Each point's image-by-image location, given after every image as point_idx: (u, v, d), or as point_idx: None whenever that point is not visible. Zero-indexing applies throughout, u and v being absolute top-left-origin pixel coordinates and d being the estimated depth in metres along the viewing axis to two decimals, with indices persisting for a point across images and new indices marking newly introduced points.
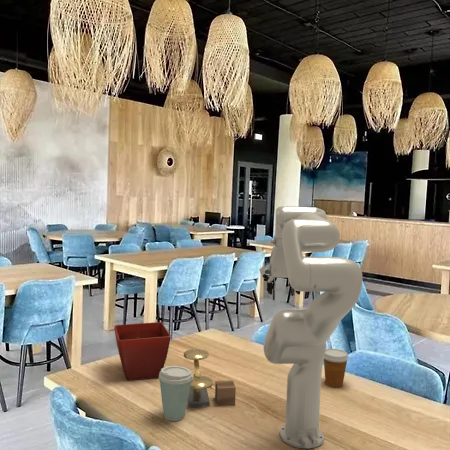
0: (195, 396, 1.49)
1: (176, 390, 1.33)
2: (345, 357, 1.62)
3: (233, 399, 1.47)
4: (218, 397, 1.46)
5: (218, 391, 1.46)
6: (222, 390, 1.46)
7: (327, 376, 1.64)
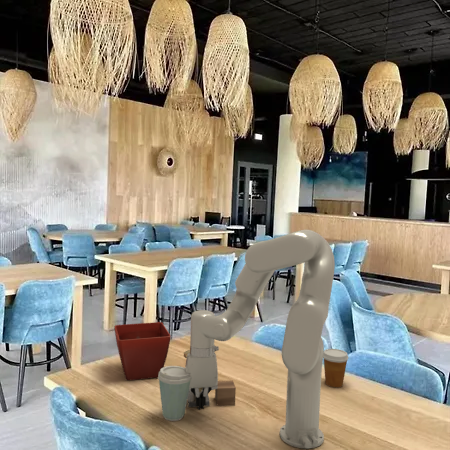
0: (195, 396, 1.49)
1: (175, 390, 1.33)
2: (345, 357, 1.62)
3: (233, 399, 1.47)
4: (218, 397, 1.46)
5: (218, 391, 1.46)
6: (222, 390, 1.46)
7: (327, 376, 1.64)
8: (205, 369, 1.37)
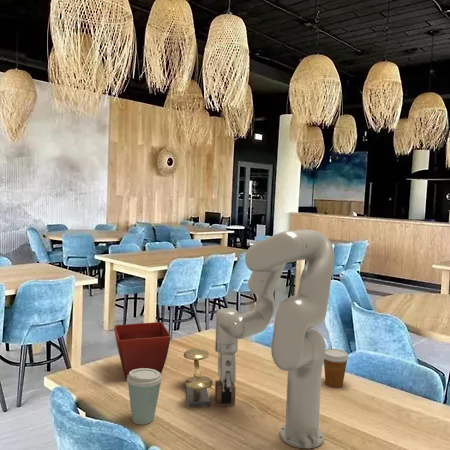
0: (195, 396, 1.49)
1: (146, 393, 1.30)
2: (345, 357, 1.62)
3: (233, 399, 1.47)
4: (218, 397, 1.46)
5: (218, 391, 1.46)
6: (222, 389, 1.46)
7: (327, 376, 1.64)
8: (218, 361, 1.47)
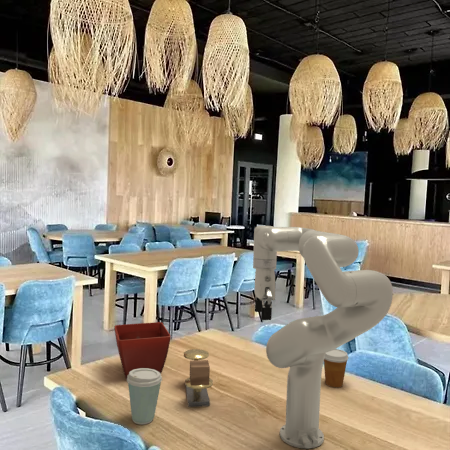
0: (195, 396, 1.49)
1: (146, 393, 1.30)
2: (345, 357, 1.62)
3: (207, 378, 1.44)
4: (192, 376, 1.43)
5: (192, 370, 1.43)
6: (196, 369, 1.43)
7: (327, 376, 1.64)
8: (257, 279, 1.43)
